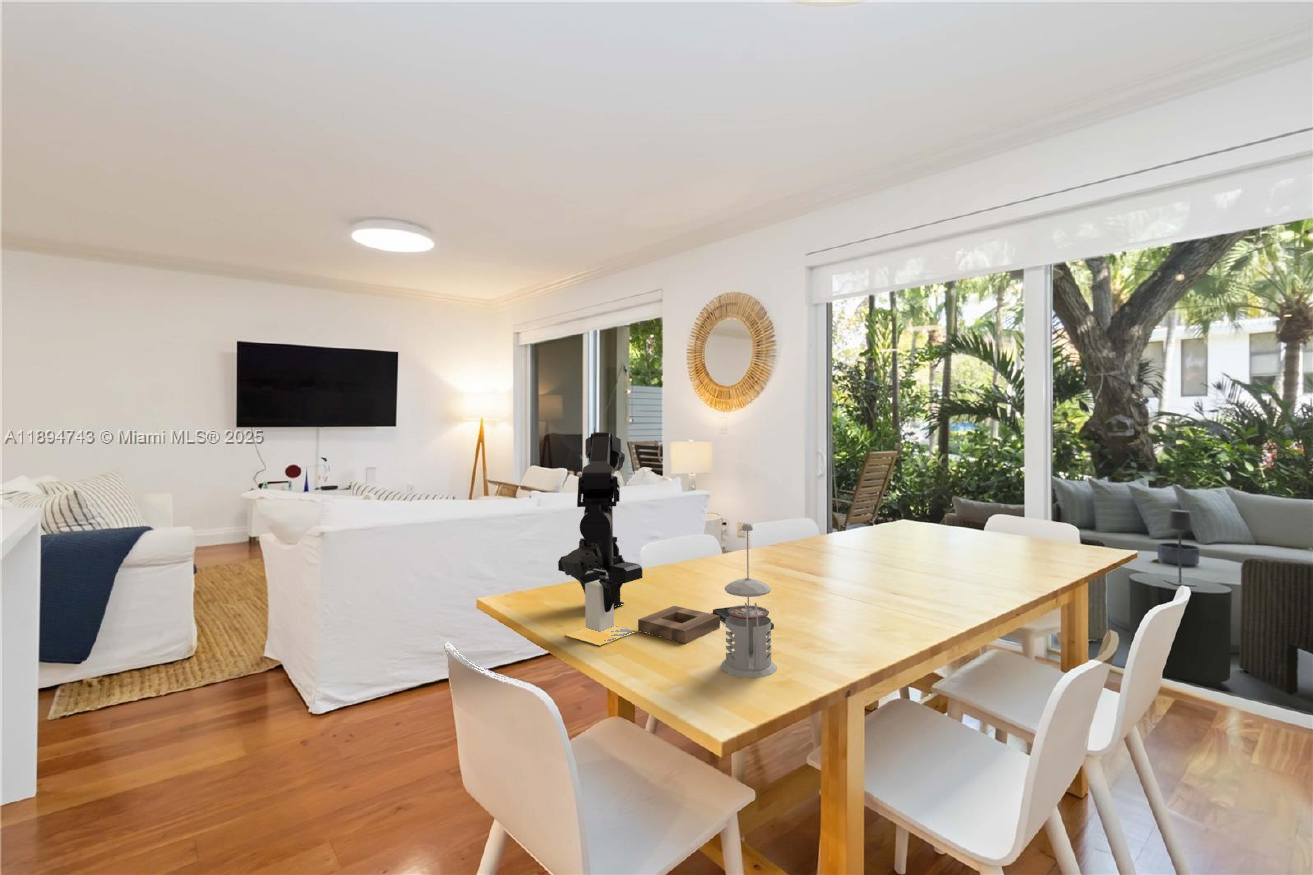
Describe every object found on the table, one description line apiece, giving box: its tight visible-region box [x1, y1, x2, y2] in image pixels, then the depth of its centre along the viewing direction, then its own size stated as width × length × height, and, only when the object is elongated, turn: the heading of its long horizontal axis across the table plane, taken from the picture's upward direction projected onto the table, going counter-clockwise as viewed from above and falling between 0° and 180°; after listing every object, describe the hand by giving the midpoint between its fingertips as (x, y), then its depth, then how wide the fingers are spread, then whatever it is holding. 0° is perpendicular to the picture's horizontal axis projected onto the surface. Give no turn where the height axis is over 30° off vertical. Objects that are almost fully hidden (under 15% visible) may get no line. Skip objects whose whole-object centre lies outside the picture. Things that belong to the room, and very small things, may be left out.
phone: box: [712, 606, 775, 630], centre depth 136 cm, size 8×1×15 cm
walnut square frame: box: [637, 605, 721, 645], centre depth 130 cm, size 12×12×2 cm
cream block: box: [584, 580, 615, 632], centre depth 128 cm, size 4×4×9 cm
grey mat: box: [604, 625, 636, 641], centre depth 128 cm, size 10×10×1 cm
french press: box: [720, 523, 778, 679], centre depth 109 cm, size 10×12×25 cm
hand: (599, 609), depth 128 cm, fingers closed on cream block, 4 cm apart
